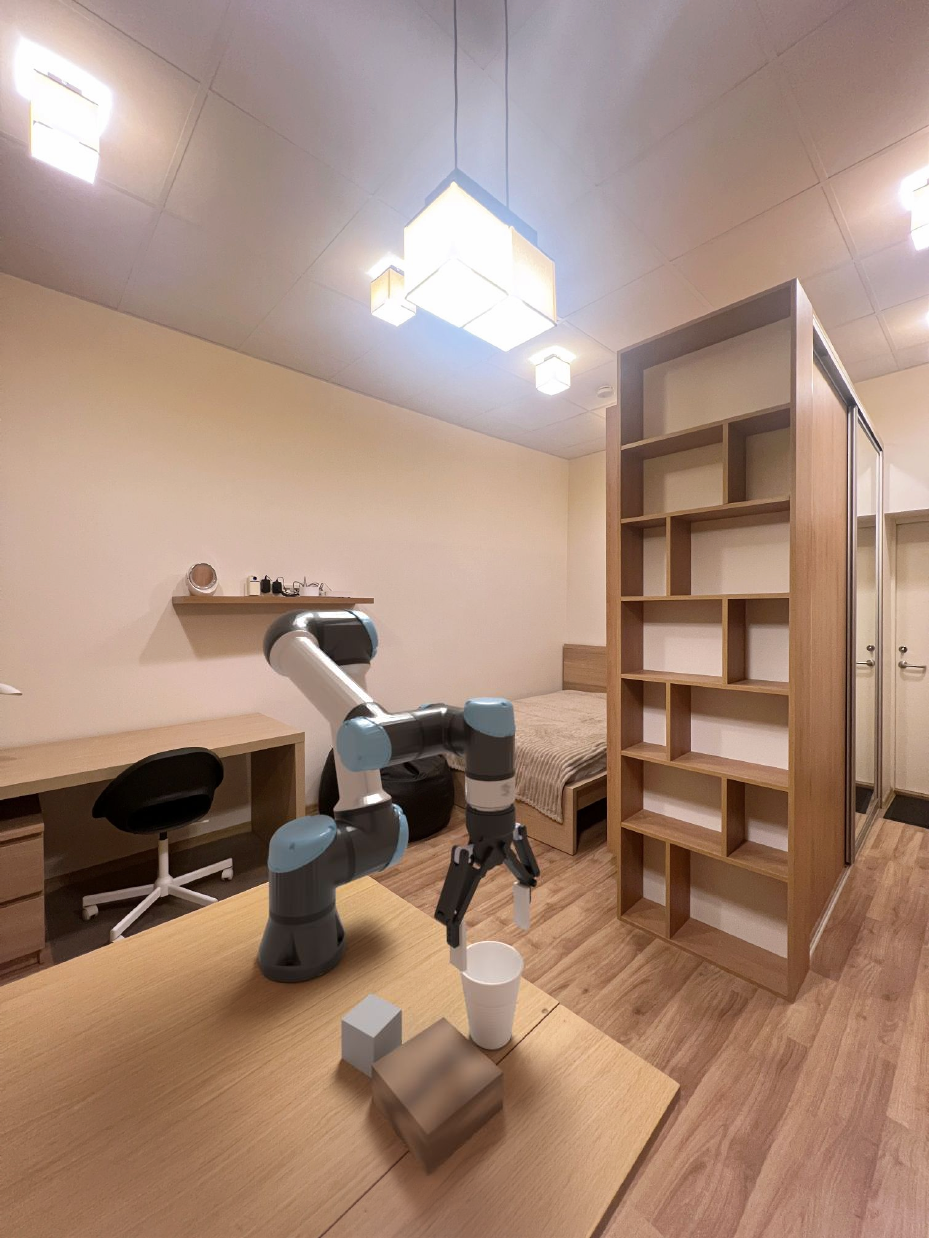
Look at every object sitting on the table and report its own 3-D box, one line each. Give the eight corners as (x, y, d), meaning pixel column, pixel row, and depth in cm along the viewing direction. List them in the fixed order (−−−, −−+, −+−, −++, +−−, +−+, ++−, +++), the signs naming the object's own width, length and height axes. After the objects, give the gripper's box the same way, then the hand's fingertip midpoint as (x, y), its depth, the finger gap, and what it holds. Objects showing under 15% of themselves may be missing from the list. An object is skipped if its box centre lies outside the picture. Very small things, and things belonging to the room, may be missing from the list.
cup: (520, 1068, 71) (520, 989, 71) (450, 1056, 73) (450, 979, 73) (526, 1014, 81) (526, 944, 81) (464, 1005, 83) (464, 936, 83)
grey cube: (341, 1061, 72) (341, 1019, 72) (370, 1032, 78) (370, 992, 78) (373, 1082, 69) (373, 1037, 69) (401, 1050, 74) (401, 1008, 74)
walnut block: (371, 1103, 66) (371, 1064, 66) (443, 1051, 74) (443, 1016, 74) (427, 1178, 57) (427, 1134, 57) (503, 1110, 65) (503, 1071, 65)
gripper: (443, 833, 66) (445, 1000, 66) (561, 789, 83) (562, 921, 83) (408, 818, 71) (409, 972, 71) (525, 779, 88) (526, 903, 88)
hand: (491, 945), depth 77 cm, fingers open, 13 cm apart
